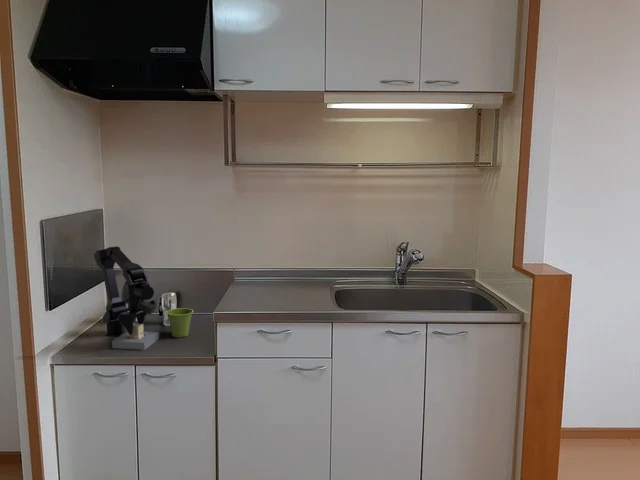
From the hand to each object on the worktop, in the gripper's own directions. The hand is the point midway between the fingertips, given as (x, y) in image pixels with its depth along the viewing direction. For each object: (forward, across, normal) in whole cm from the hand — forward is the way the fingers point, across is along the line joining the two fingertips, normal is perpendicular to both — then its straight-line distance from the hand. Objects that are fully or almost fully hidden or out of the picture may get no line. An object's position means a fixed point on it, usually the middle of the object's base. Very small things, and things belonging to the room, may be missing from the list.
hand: (136, 331), depth 201 cm
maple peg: (+5, 0, 0) cm, 5 cm away
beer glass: (+6, +28, -3) cm, 29 cm away
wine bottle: (+6, +27, +16) cm, 32 cm away
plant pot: (+6, +13, -14) cm, 20 cm away
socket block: (+5, 0, 0) cm, 5 cm away
